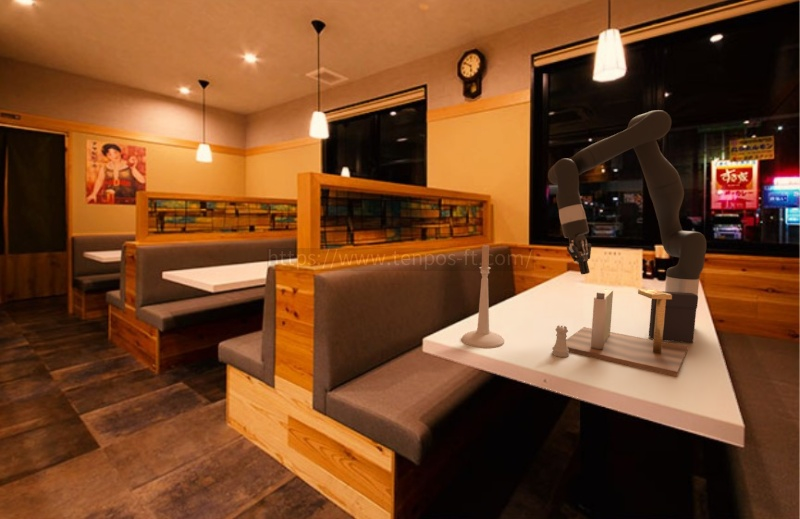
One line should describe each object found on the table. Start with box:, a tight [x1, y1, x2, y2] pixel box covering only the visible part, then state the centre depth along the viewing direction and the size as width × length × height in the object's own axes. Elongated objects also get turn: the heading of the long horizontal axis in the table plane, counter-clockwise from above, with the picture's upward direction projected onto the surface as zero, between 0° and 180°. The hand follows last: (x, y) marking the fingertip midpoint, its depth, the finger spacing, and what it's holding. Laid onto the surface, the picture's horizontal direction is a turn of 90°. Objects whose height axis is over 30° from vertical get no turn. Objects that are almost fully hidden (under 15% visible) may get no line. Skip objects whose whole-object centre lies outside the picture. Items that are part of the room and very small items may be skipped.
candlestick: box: [461, 244, 505, 349], centre depth 115 cm, size 13×13×30 cm
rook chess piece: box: [551, 325, 570, 358], centre depth 105 cm, size 4×4×8 cm
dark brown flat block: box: [648, 290, 699, 344], centre depth 117 cm, size 11×4×15 cm, turn 71°
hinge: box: [591, 288, 614, 349], centre depth 112 cm, size 18×3×16 cm, turn 143°
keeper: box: [637, 288, 672, 354], centre depth 106 cm, size 7×5×18 cm
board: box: [566, 326, 689, 377], centre depth 109 cm, size 24×28×1 cm
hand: (585, 273), depth 120 cm, fingers closed
